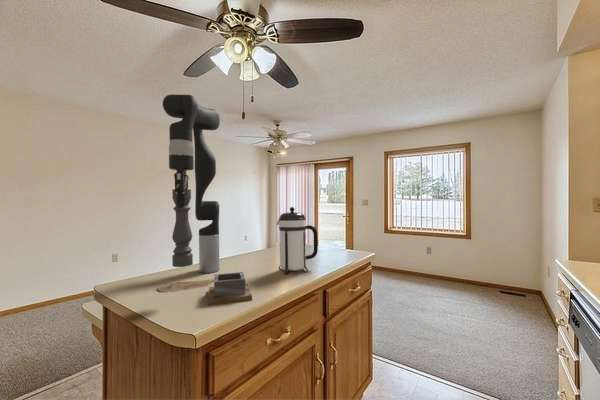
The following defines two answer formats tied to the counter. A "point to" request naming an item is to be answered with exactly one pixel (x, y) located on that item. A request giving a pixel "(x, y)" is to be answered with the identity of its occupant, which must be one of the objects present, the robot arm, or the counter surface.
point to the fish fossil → (183, 285)
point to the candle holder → (182, 232)
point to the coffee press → (294, 241)
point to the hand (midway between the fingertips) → (181, 205)
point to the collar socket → (229, 289)
